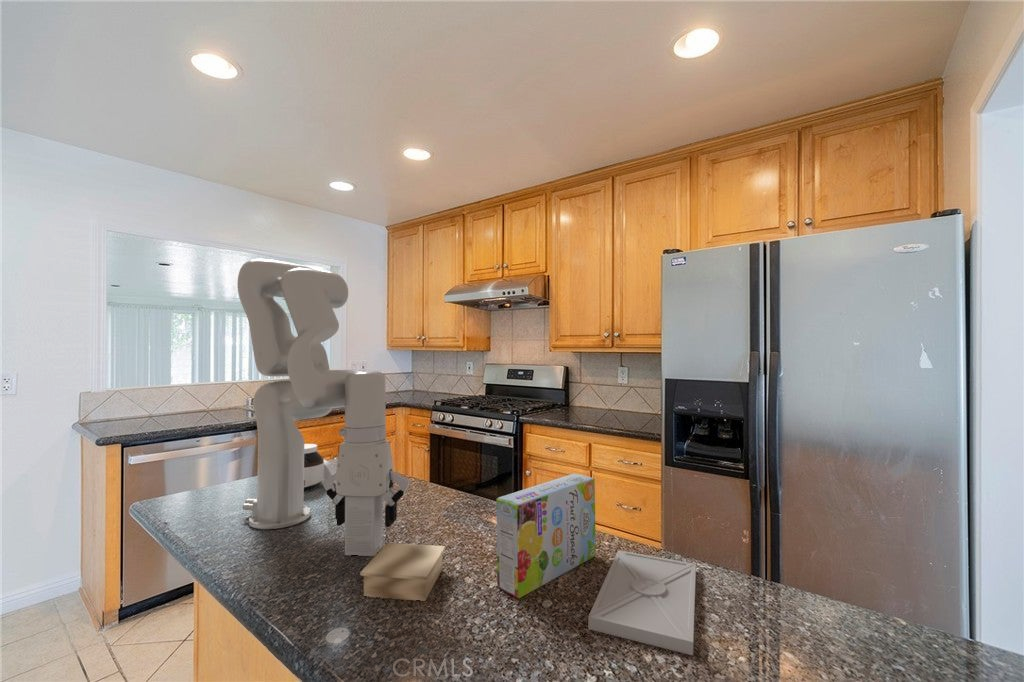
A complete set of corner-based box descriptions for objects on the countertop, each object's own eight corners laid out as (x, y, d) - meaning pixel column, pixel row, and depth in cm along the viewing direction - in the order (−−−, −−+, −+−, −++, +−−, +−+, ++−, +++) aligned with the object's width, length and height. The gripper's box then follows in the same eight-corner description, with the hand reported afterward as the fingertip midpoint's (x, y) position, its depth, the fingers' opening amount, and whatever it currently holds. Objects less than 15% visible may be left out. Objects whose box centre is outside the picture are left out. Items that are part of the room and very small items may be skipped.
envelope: (695, 575, 80) (618, 560, 85) (695, 562, 80) (618, 548, 85) (693, 657, 58) (588, 630, 63) (693, 640, 58) (588, 614, 63)
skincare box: (383, 547, 88) (383, 486, 88) (374, 557, 84) (375, 493, 84) (353, 545, 89) (354, 485, 89) (343, 555, 85) (344, 492, 85)
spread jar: (278, 491, 122) (278, 448, 123) (303, 479, 134) (304, 440, 134) (318, 493, 120) (318, 450, 121) (340, 481, 132) (341, 441, 132)
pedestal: (360, 597, 70) (360, 572, 70) (387, 564, 81) (387, 542, 81) (426, 602, 69) (426, 576, 69) (445, 568, 80) (445, 546, 80)
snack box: (573, 547, 89) (573, 471, 89) (597, 557, 85) (597, 477, 85) (494, 587, 74) (495, 495, 74) (518, 601, 70) (519, 504, 70)
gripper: (313, 438, 84) (313, 530, 83) (401, 438, 82) (402, 533, 81) (333, 431, 91) (333, 515, 91) (415, 431, 89) (415, 518, 89)
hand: (366, 523), depth 86 cm, fingers open, 9 cm apart
